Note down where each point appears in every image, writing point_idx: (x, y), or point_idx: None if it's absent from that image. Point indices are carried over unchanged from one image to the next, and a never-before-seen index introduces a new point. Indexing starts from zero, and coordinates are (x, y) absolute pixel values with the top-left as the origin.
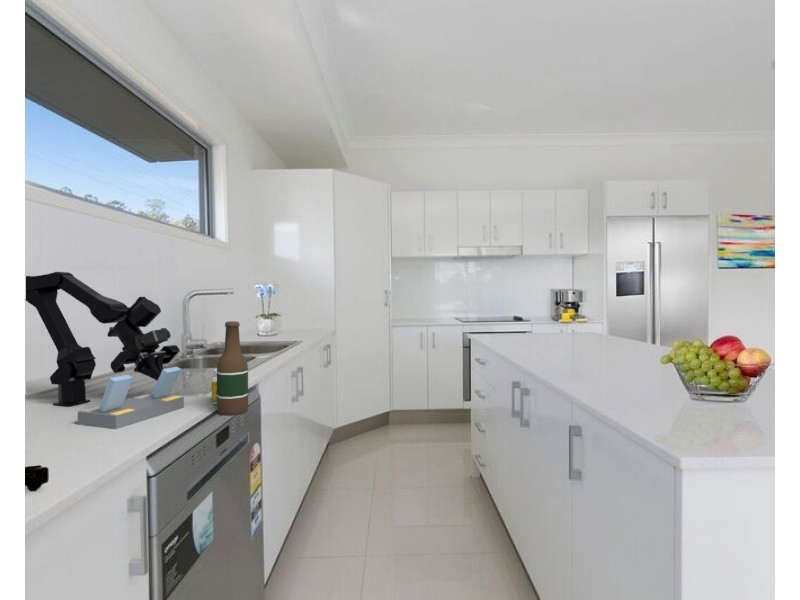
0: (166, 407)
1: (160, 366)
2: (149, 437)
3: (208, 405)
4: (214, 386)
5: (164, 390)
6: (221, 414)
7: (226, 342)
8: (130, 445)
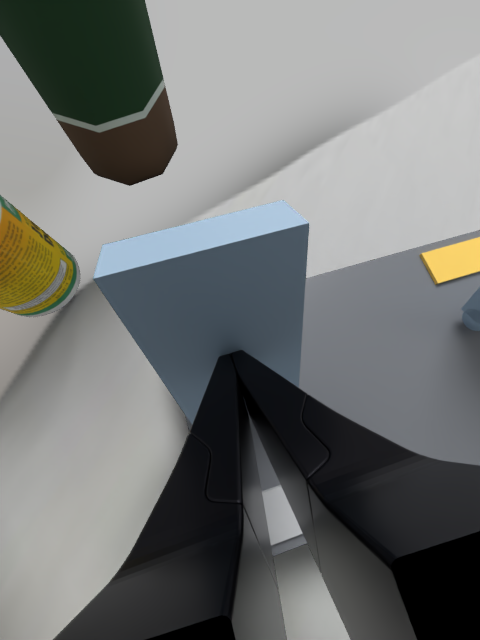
0: None
1: (221, 453)
2: (406, 122)
3: None
4: (24, 230)
5: None
6: (176, 144)
7: None
8: (457, 104)
